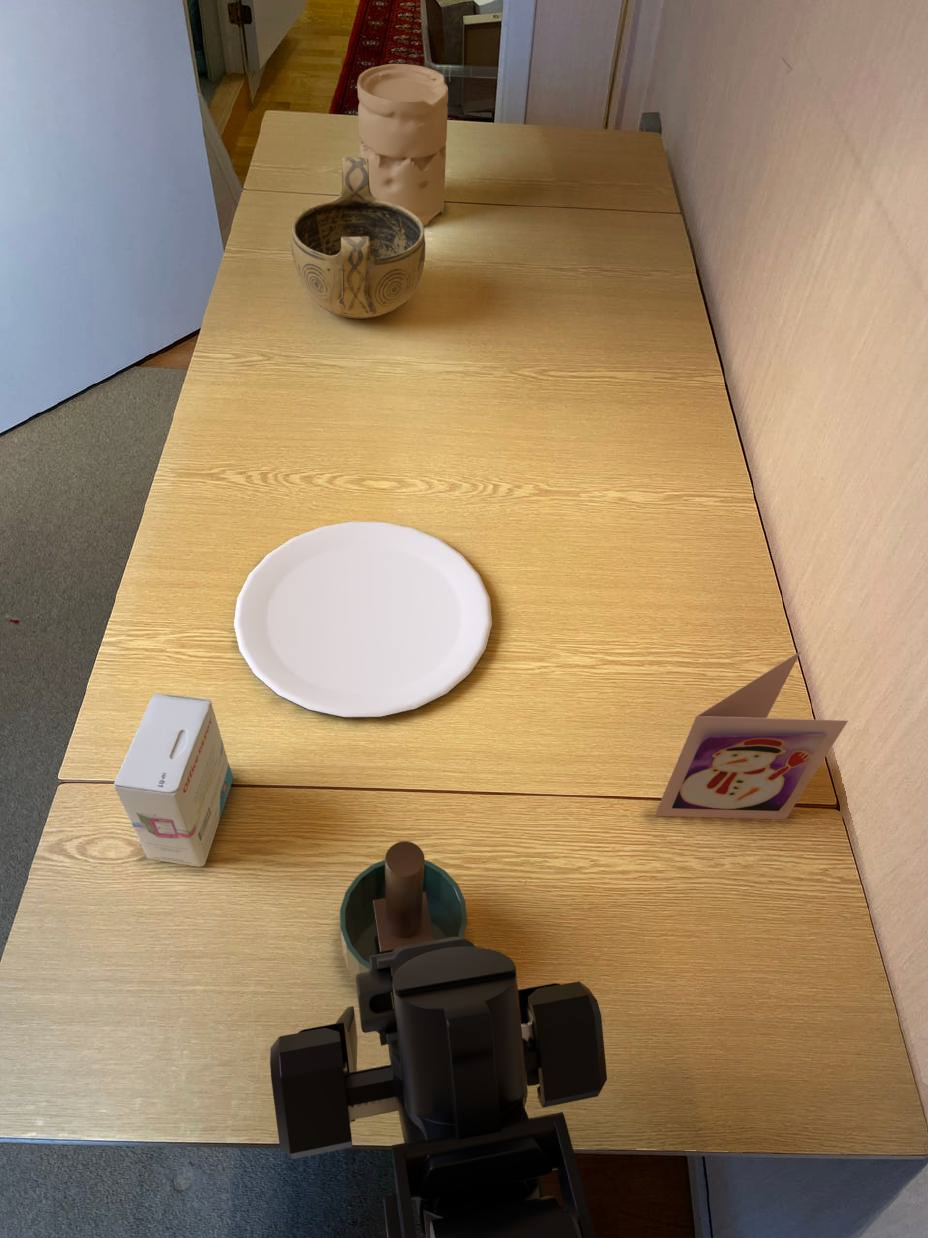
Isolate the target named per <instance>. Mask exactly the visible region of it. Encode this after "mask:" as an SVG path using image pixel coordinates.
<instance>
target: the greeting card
mask: <svg viewBox="0 0 928 1238" xmlns="http://www.w3.org/2000/svg"><path fill="white" fill-rule="evenodd" d="M801 652H802V650H800V651H798V652H797V653H795V654H793V655H791V656H790V657H789V658H787V659H785V660H783V661H782V662H780V663H779V664H777V665H776V666H774V667H773V668H771V669H769V670H768V671H766V672H764V673H763V674H761V675H760V676H758V677H756V678H755V679H753V680H752V681H750V682H748V683H747V684H745V685H743V686H742V687H740V688H739V689H737V690H735V691H734V692H732V693H731V694H729V695H728V696H726V697H724V698H723V699H721V700H720V701H718V702H717V703H715V704H713V705H712V706H710V707H709V708H707V709H705V710H704V711H702V712H700V713H699V714H697V715H696V716H695V718H694V721H693V722H692V726H691V727H690V730H689V733H688V735H687V737H686V740H685V742H684V743H683V744H684V745H683V747H682V749H681V752H680V754H679V756H678V759H677V761H676V764H675V766H674V768H673V770H672V773H671V776H670V778H669V781H668V782H667V784H666V788H665V790H664V792H663V794H662V797H661V800H660V802H659V804H658V807H657V809H656V811H655V814H654V816H655V817H682V818H683V817H686V818H723V819H724V818H725V819H727V818H728V819H762V820H763V819H765V820H769V819H770V820H787V818H788V817H789V816H790V814H791V812H792V811H793V809H794V808H795V806H796V804H797V803H798V801H799V800H800V798H801V796H802V795H803V793H804V792H805V790H806V788H807V787H808V785H809V784H810V782H811V781H812V779H813V777H814V776H815V774H816V773H817V771H818V769H819V768H820V766H821V765H822V763H823V762H824V760H825V758H826V756H827V755H828V753H829V752H830V750H831V749H832V748H833V745H835V742H836V741H837V739H838V738H839V736H840V735H841V733H842V732H843V730H844V728H845V726H847V723H848V722H849V720H843V719H842V720H841V719H839V720H838V719H812V718H807V719H806V718H776V717H775V718H773V717H770V718H769V717H768V716H769V714H770V712H771V710H772V708H773V707H774V704H775V703H776V701H777V699H778V697H779V695H780V693H781V691H782V689H783V688H784V686H785V683H786V681H787V680H788V678H789V675H790V673H791V672H792V670H793V668H794V667H795V664H796V663H797V660H798V658H799V657H800V654H801Z"/></svg>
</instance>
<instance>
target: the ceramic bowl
mask: <svg viewBox="0 0 928 1238" xmlns="http://www.w3.org/2000/svg"><path fill="white" fill-rule="evenodd" d="M291 255H292V260H293V266H294V269H295V272H296V276H297V278H298V281H299V282H300V284H301V287H302V289H303V290H304V291H305V292H306V294H307V295H308V297H309V298H310V299H311V300H312V301H313V302H314V303H316V305H318V306H319V307H320V308H322V309H324V310H325V311H327V312H329V313H330V314H334V315H336V316H339V317H343V318H347V319H360V320H361V319H370V318H376V317H379V316H383V315H385V314H388V313H390V312H392V311H394V310H396V309H397V308H399V307H401V306H402V305H403V304H404V303H406V302H407V301H408V300H409V299H410V298H411V296H412V295H413V294H414V292H415V291H416V289H417V287H418V285H419V284H420V281H421V279H422V275H423V271H424V267H425V259H426V236H425V226H423V224H422V222H421V221H420V219H419V218H418V217H417V216H416V215H414V214H413V213H412V212H410V211H409V210H407V209H405V208H404V207H402V206H399V205H396V204H394V203H391V202H387V201H382V200H378V199H376V198H375V197H374V196H373V195H372V194H371V191H370V186H369V162H368V159H367V158H360V157H359V156H357V157H355V156H353V157H352V156H351V157H350V156H349V157H347V156H346V157H342V158H341V192H340V195H338V196H337V197H335V198H333V199H330V200H326V201H325V200H324V201H321V202H319V203H316V204H314V205H312V206H311V205H310V206H309V207H307V208H305V209H303V210H302V211H301V212H299V213H298V214H297V215H296V216H295V218H294V220H293V222H292V224H291Z"/></svg>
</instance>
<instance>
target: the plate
mask: <svg viewBox="0 0 928 1238" xmlns="http://www.w3.org/2000/svg"><path fill="white" fill-rule="evenodd" d="M492 618H493V617H492V605H491V598H490V596H489V593H488V591H487V588H486V586H485V584H484V582H483V580H482V577H481V575H480V573H478V572H477V570H476V569H475V568H474V567H473V566H472V564H471V563H470V562H469V560H467V558H466V557H464V555H463V554H462V553H460V552H459V551H458V550H456V549H454V548H453V547H452V546H451V545H449V544H447V543H446V542H444V541H443V540H442V539H440V538H438V537H436V536H433V535H431V534H428V533H426V532H424V531H422V530H419V529H416V528H414V527H410V526H405V525H400V524H395V523H389V522H384V521H347V522H341V523H336V524H330V525H325V526H320V527H317V528H315V529H312V530H309V531H307V532H304V533H302V534H300V535H296V536H294V537H292V538H290V539H289V540H287V541H285V542H284V543H283V544H282V545H280V546H278V547H277V548H275V549H274V550H272V551H270V552H269V553H268V554H266V556H264V558H262V560H261V561H260V562H259V563H258V564H257V565H256V567H254V568H253V570H252V571H251V572H250V573H249V574H248V576H247V578H246V580H245V583H244V584H243V586H242V588H241V590H240V593H239V594H238V596H237V598H236V605H235V612H234V620H233V627H234V631H235V636H236V640H237V645H238V650H239V653H240V654H241V656H242V657H243V659H244V660H245V662H246V664H247V665H248V667H249V669H250V670H251V672H252V673H253V675H254V676H255V677H256V678H257V679H258V680H260V682H261V683H263V685H265V686H266V687H267V688H269V689H270V690H271V691H272V692H273V693H274V694H275V695H277V696H278V697H280V698H282V699H284V700H286V701H288V702H290V703H293V704H294V705H296V706H298V707H301V708H303V709H305V710H307V711H310V712H315V713H320V714H323V715H328V716H333V717H337V718H342V719H375V718H376V719H377V718H379V719H380V718H381V719H382V718H385V717H389V716H394V715H399V714H403V713H406V712H410V711H415V710H417V709H420V708H422V707H424V706H426V705H427V704H430V703H431V702H434V701H436V700H438V699H440V698H442V697H444V696H446V695H447V694H449V693H450V692H451V691H452V690H453V689H454V688H456V687H457V686H458V685H459V684H460V683H461V682H463V681H464V680H465V679H466V678H467V677H468V676H470V675H471V673H472V672H473V670H474V668H476V665H477V664H478V662H479V661H480V659H481V658H482V656H483V655H484V653H485V651H486V648H487V646H488V641H489V637H490V633H491V629H492V626H493V619H492Z"/></svg>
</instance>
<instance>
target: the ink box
mask: <svg viewBox="0 0 928 1238" xmlns="http://www.w3.org/2000/svg"><path fill="white" fill-rule="evenodd" d="M231 770H232V769H231V767H230V763H229V760H228V756H227V752H226V749H225V745H224V741H223V738H222V735H221V732H220V727H219V724H218V721H217V718H216V714H215V710H214V707H213V703H212V701H211V700H210V699H209V698H202V697H195V696H189V695H188V696H186V695H179V694H178V695H177V694H165V693H153V694H152V696H151V698H150V699H149V702H148V705H147V707H146V709H145V711H144V714H143V716H142V718H141V721H140V723H139V725H138V728H137V730H136V733H135V735H134V737H133V739H132V741H131V744H130V746H129V749H128V751H127V753H126V755H125V757H124V760H123V762H122V764H121V766H120V769H119V771H118V773H117V776H116V777H115V780H114V783H113V788H114V790H115V792H116V794H117V796H118V798H119V801H120V803H121V805H122V808H123V809H124V811H125V813H126V815H127V817H128V820H129V822H130V824H131V826H132V828H133V830H134V832H135V835H136V836H137V838H138V841H139V843H140V845H141V847H142V849H143V851H144V853H145V856H146V858H147V859H149V860H153V861H158V862H159V861H160V862H164V863H172V864H178V865H184V866H190V867H191V866H193V867H198V868H199V867H201V868H202V867H204V866H205V864H207V859H208V857H209V854H210V851H211V847H212V844H213V841H214V839H215V836H216V832H217V829H218V827H219V823H220V821H221V818H222V814H223V811H224V808H225V805H226V802H227V800H228V797H229V794H230V791H231V787H232V785H233V781H234V776H233V773H232V771H231Z"/></svg>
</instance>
